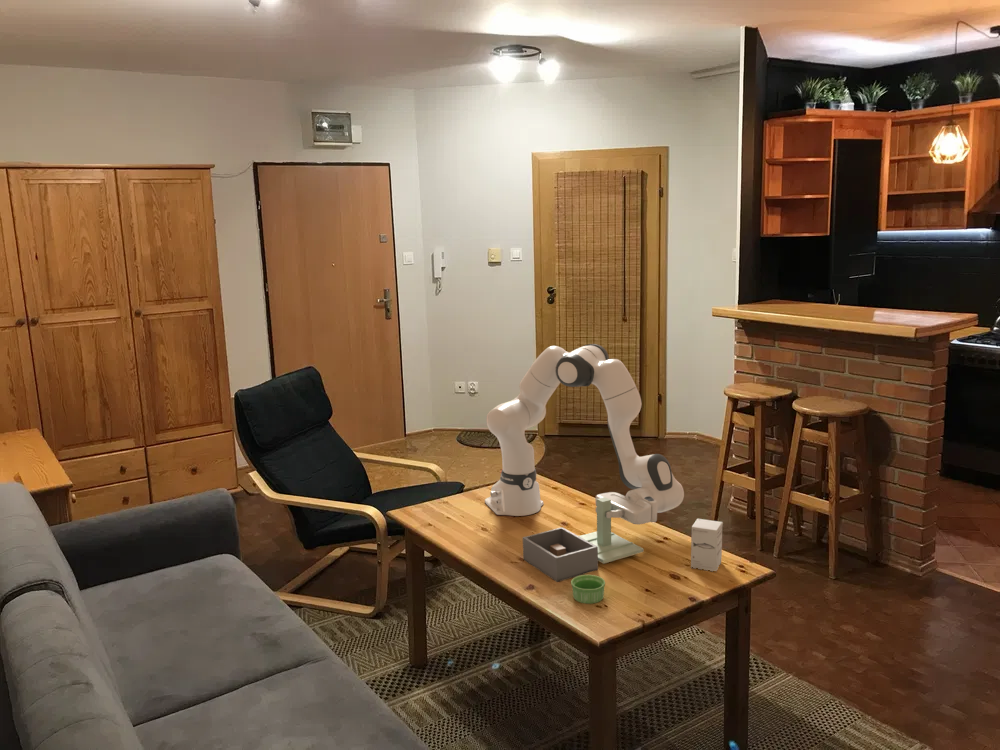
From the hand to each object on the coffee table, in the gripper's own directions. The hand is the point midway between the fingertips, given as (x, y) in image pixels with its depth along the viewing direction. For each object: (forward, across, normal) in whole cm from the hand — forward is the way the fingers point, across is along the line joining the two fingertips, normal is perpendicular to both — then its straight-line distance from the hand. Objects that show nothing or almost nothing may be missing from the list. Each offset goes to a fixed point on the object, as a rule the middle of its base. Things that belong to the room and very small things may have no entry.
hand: (601, 512), depth 235 cm
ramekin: (+20, +21, +13) cm, 32 cm away
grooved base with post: (-1, 0, +11) cm, 11 cm away
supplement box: (-19, +24, +13) cm, 33 cm away
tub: (+15, 0, +12) cm, 20 cm away
